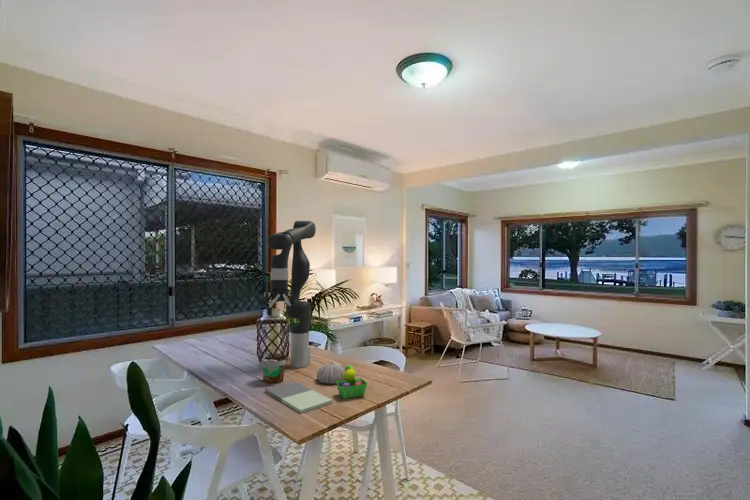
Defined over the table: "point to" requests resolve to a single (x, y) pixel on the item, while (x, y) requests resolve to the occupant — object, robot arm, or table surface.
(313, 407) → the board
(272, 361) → the food container
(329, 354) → the table surface
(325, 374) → the sea urchin shell
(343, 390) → the fruit basket
